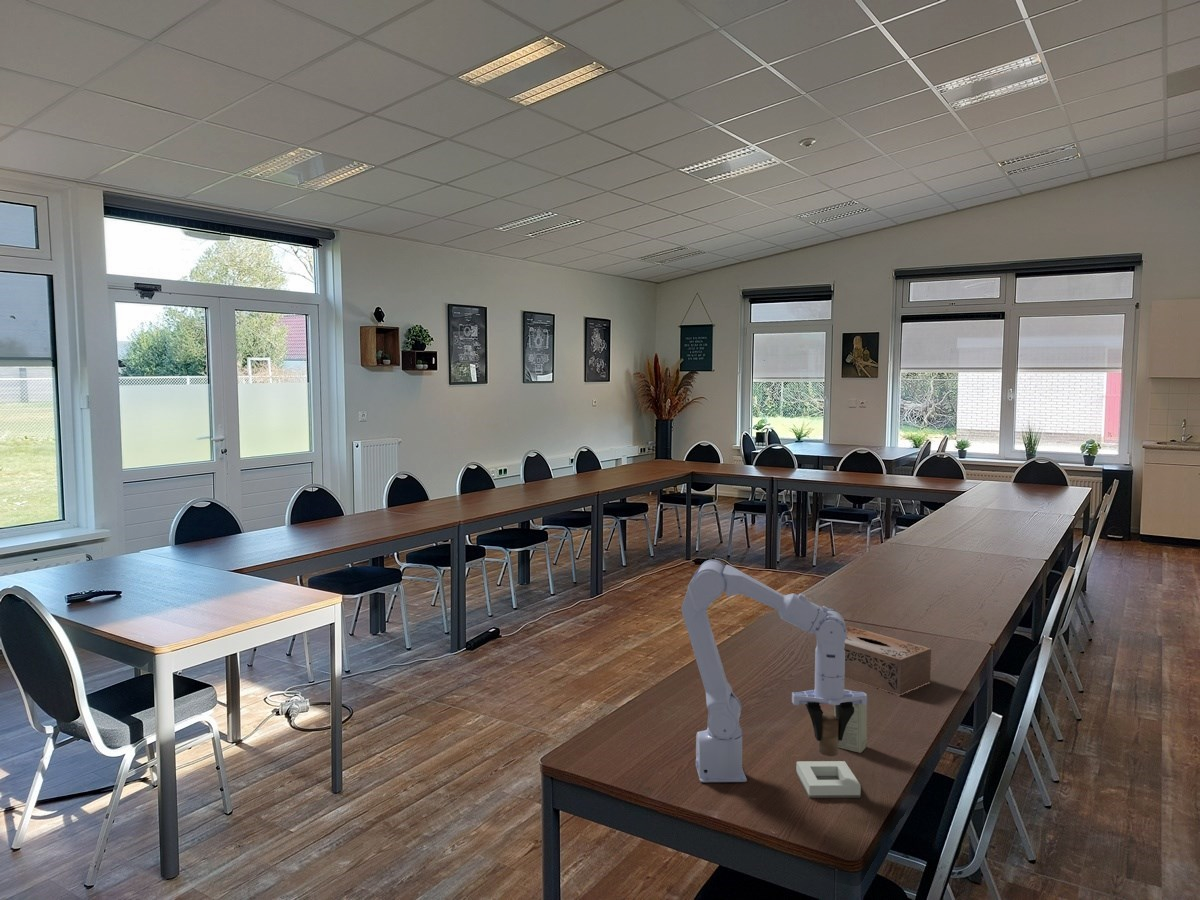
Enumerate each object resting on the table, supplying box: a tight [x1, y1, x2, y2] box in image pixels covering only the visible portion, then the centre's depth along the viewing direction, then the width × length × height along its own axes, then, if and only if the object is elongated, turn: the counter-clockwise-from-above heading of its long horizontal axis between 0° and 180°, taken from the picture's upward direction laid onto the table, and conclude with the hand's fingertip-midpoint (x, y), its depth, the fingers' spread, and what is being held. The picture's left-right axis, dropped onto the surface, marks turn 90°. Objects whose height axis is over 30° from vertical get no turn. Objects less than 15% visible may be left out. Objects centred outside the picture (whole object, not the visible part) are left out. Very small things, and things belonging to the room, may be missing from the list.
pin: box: [818, 714, 839, 757], centre depth 160 cm, size 4×4×7 cm
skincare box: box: [833, 688, 868, 754], centre depth 178 cm, size 6×4×12 cm
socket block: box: [795, 760, 862, 799], centre depth 161 cm, size 10×10×2 cm
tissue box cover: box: [844, 625, 932, 694], centre depth 221 cm, size 26×14×10 cm, turn 37°
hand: (828, 738), depth 160 cm, fingers closed on pin, 4 cm apart
